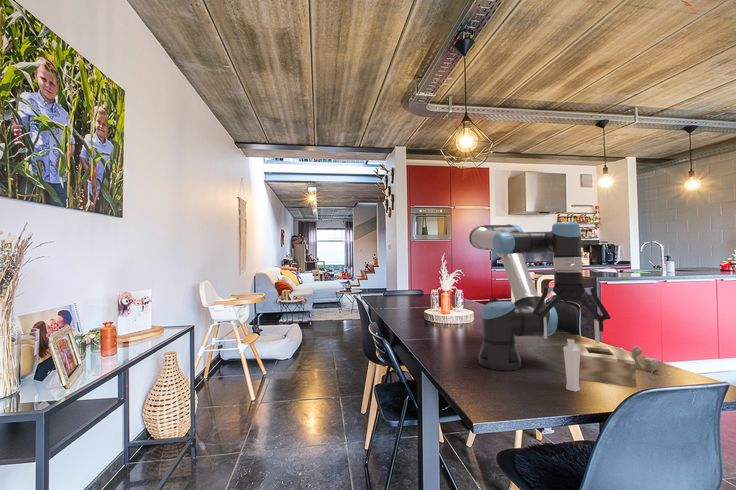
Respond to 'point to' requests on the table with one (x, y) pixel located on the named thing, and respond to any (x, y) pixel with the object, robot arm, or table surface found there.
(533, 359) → the table surface
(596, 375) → the holder box
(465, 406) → the table surface
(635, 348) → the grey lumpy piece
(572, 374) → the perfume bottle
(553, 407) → the table surface
